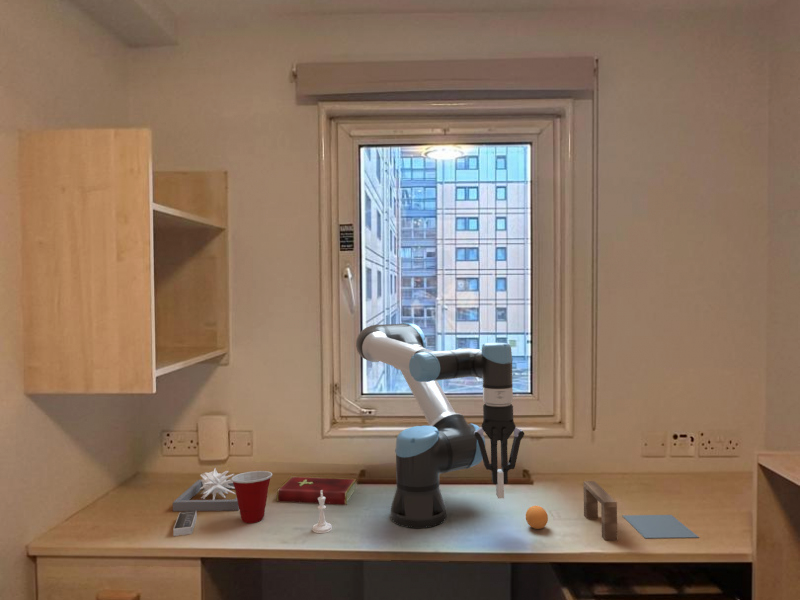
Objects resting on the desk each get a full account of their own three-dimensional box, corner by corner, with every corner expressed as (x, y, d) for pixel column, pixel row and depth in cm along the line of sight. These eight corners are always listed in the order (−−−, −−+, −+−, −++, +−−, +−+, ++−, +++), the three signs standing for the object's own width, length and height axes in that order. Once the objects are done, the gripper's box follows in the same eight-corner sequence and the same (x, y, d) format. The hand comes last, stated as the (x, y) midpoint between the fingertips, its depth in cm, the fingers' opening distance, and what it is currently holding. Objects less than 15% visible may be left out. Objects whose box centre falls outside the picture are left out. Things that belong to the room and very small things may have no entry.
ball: (528, 533, 130) (528, 510, 130) (523, 523, 136) (523, 502, 136) (550, 532, 130) (550, 510, 130) (544, 523, 136) (544, 502, 136)
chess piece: (313, 534, 131) (313, 494, 131) (311, 526, 136) (310, 488, 136) (333, 531, 132) (332, 492, 132) (330, 523, 137) (329, 486, 137)
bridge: (604, 540, 125) (604, 502, 125) (584, 515, 140) (583, 481, 140) (617, 540, 125) (616, 502, 125) (595, 515, 140) (594, 481, 140)
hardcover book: (346, 506, 150) (346, 492, 150) (277, 503, 153) (276, 489, 153) (356, 491, 162) (356, 477, 162) (291, 488, 165) (291, 475, 165)
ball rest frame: (172, 511, 147) (172, 502, 147) (198, 487, 166) (198, 479, 166) (238, 510, 147) (238, 501, 147) (256, 486, 166) (256, 478, 166)
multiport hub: (173, 538, 131) (172, 529, 131) (179, 520, 142) (179, 512, 142) (191, 535, 132) (191, 526, 132) (196, 518, 143) (196, 510, 143)
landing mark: (645, 538, 126) (645, 537, 126) (622, 516, 139) (622, 515, 139) (698, 537, 126) (698, 536, 126) (671, 515, 139) (671, 514, 139)
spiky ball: (237, 491, 165) (237, 464, 165) (241, 501, 153) (240, 471, 154) (199, 496, 160) (199, 468, 161) (199, 506, 149) (199, 476, 150)
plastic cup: (270, 508, 148) (269, 466, 148) (275, 523, 138) (275, 477, 138) (230, 514, 144) (229, 471, 144) (232, 530, 134) (232, 483, 134)
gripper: (474, 407, 129) (476, 502, 129) (527, 405, 129) (529, 501, 129) (470, 401, 137) (472, 491, 136) (520, 400, 137) (522, 490, 136)
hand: (500, 496), depth 133 cm, fingers closed
